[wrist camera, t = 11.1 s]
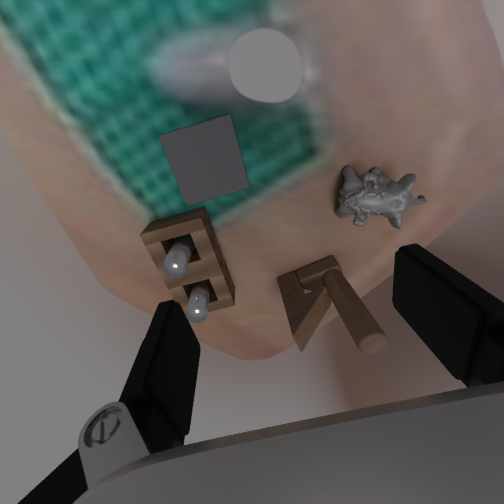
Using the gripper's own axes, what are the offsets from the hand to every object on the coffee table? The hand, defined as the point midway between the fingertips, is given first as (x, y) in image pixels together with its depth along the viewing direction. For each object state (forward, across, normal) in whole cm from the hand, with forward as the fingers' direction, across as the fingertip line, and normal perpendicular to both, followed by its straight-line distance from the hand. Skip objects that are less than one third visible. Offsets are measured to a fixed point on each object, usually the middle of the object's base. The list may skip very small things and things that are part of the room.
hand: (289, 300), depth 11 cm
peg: (+29, +12, +8) cm, 32 cm away
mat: (+29, +6, -3) cm, 30 cm away
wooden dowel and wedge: (+29, -6, +20) cm, 36 cm away
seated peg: (+29, +12, +16) cm, 35 cm away
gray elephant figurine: (+29, -18, +7) cm, 35 cm away
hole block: (+29, +12, +12) cm, 34 cm away
